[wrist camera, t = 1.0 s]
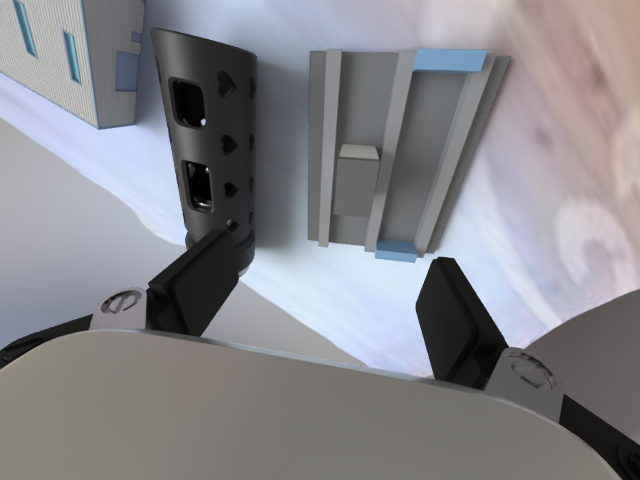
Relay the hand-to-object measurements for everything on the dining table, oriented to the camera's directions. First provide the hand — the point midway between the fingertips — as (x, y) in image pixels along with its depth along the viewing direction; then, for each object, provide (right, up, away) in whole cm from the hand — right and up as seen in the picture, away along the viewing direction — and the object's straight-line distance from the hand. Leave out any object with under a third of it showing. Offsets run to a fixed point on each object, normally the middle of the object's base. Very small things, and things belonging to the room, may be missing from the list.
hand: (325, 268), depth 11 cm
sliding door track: (+8, +11, +20) cm, 24 cm away
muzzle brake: (-13, +12, +23) cm, 29 cm away
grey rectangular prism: (+4, +11, +19) cm, 23 cm away
